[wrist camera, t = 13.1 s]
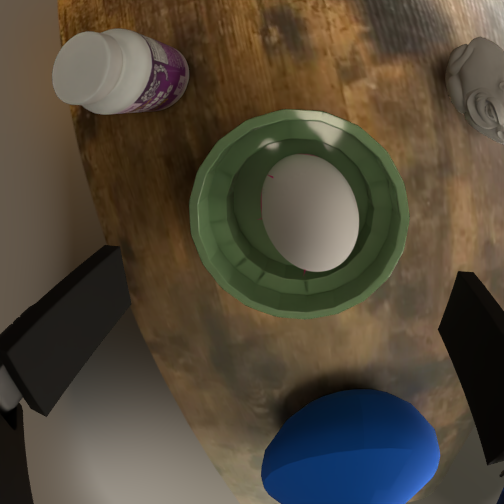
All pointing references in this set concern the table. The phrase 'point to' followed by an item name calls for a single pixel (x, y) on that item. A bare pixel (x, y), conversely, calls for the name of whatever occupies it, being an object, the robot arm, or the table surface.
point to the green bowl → (253, 231)
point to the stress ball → (309, 212)
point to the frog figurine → (478, 85)
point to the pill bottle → (119, 72)
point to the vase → (351, 451)
